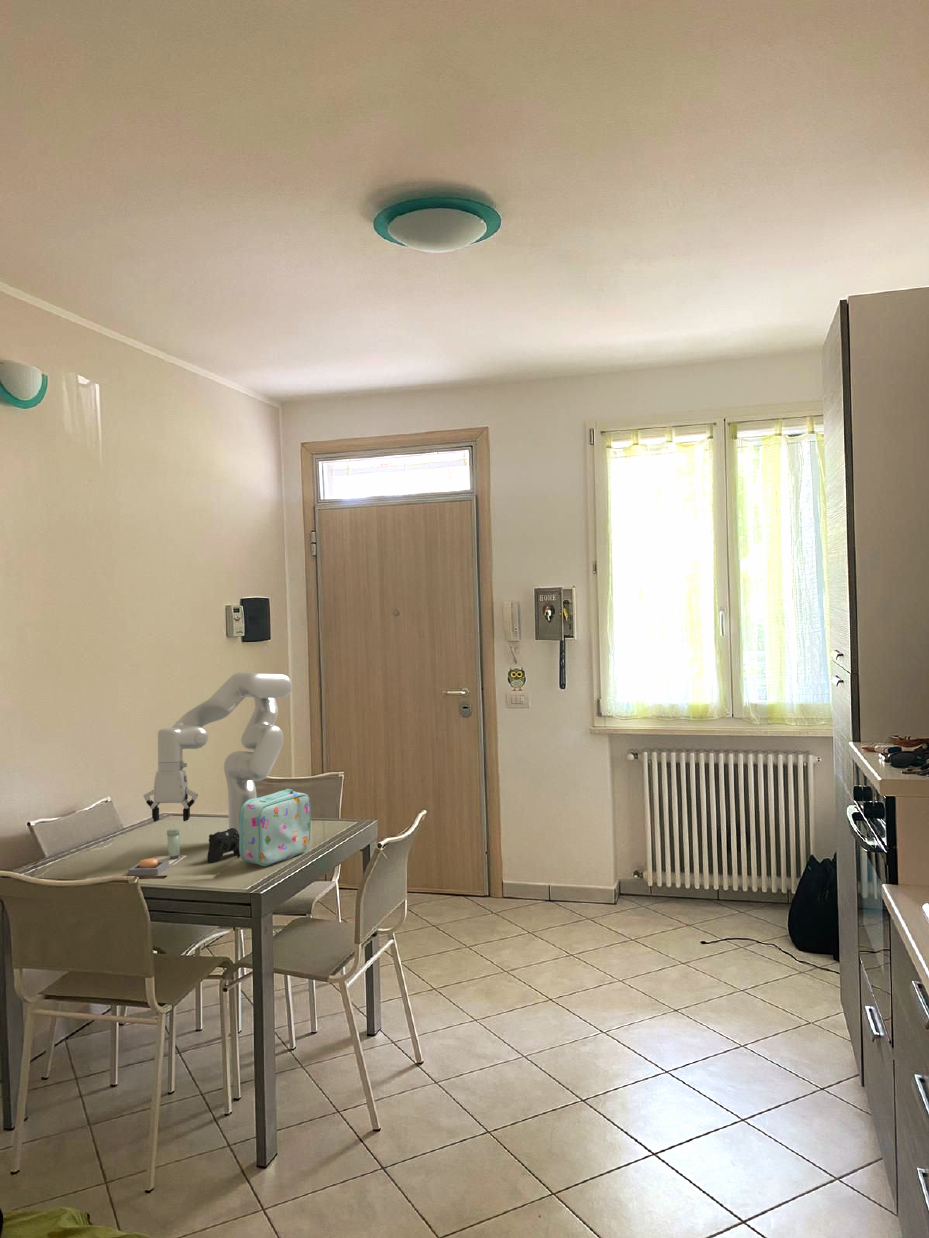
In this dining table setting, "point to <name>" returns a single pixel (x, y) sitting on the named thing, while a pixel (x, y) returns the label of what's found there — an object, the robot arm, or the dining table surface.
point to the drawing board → (163, 858)
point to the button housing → (149, 869)
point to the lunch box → (274, 827)
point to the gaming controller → (223, 844)
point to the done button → (149, 863)
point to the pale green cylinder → (173, 843)
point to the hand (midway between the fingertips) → (171, 820)
